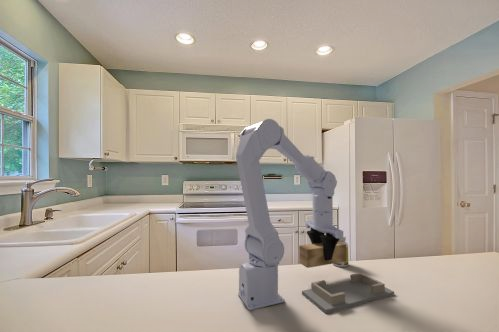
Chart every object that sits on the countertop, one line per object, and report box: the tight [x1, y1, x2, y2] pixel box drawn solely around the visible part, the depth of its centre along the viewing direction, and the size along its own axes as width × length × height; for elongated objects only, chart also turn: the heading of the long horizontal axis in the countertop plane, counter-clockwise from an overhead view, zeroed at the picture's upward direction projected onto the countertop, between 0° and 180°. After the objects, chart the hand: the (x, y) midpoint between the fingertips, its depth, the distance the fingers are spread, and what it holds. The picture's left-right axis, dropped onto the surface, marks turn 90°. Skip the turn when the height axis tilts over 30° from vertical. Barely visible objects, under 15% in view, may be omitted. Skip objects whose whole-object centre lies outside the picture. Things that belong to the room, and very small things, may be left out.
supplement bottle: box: [332, 234, 349, 268], centre depth 79 cm, size 5×5×10 cm
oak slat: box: [298, 242, 346, 269], centre depth 68 cm, size 14×4×5 cm, turn 112°
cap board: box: [301, 272, 395, 314], centre depth 59 cm, size 22×9×3 cm, turn 112°
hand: (322, 257), depth 68 cm, fingers closed on oak slat, 4 cm apart
